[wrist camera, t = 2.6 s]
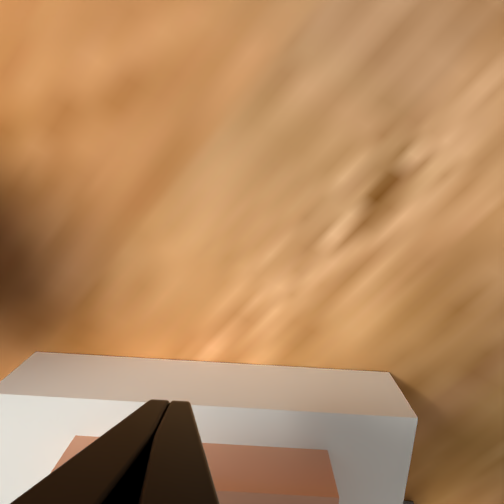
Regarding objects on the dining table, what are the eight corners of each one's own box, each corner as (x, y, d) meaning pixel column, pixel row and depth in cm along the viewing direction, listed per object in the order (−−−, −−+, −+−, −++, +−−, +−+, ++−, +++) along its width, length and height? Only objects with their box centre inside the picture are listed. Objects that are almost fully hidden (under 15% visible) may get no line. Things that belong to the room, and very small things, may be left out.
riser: (44, 471, 18) (2, 532, 15) (35, 351, 16) (-13, 393, 13) (371, 490, 18) (393, 554, 15) (389, 372, 16) (418, 418, 13)
